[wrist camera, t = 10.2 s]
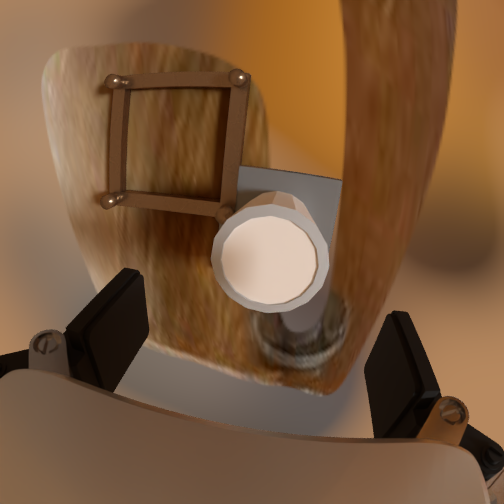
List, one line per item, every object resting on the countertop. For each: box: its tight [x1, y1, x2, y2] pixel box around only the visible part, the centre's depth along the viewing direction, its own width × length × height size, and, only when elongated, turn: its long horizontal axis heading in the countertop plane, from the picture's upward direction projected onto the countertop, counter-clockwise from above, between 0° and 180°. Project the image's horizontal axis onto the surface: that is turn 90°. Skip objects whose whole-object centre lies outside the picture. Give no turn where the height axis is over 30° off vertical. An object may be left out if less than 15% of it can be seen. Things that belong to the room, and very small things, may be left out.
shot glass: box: [211, 191, 329, 313], centre depth 20 cm, size 7×7×7 cm
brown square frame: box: [100, 69, 251, 224], centre depth 21 cm, size 11×11×2 cm
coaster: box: [219, 165, 342, 253], centre depth 24 cm, size 9×9×1 cm
